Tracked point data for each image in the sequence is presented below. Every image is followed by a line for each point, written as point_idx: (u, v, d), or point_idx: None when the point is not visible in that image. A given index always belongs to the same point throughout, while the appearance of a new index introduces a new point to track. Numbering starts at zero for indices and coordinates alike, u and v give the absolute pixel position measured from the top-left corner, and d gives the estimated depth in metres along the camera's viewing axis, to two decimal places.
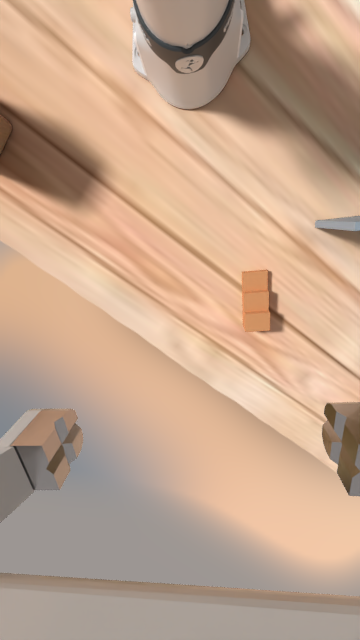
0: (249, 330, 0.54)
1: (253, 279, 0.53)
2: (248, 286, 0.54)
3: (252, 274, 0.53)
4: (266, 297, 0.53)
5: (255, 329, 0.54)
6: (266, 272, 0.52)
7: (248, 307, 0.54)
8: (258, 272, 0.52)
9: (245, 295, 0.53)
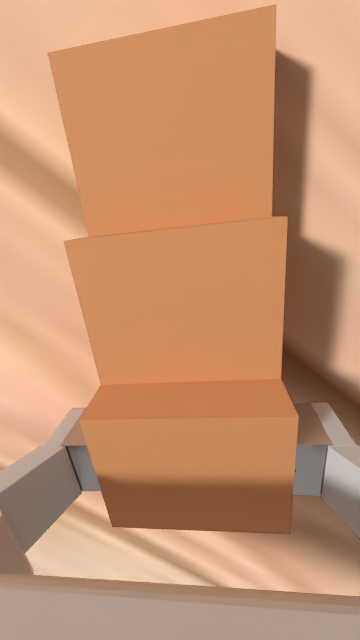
0: (138, 521, 0.07)
1: (150, 118, 0.06)
2: (122, 187, 0.07)
3: (137, 58, 0.06)
4: (264, 269, 0.06)
5: (180, 519, 0.07)
6: (263, 27, 0.05)
7: (124, 354, 0.07)
8: (187, 36, 0.06)
9: (85, 261, 0.06)
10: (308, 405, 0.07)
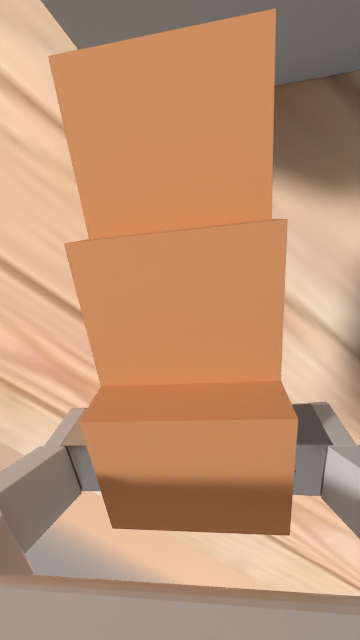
0: (138, 523, 0.07)
1: (151, 121, 0.06)
2: (123, 189, 0.07)
3: (137, 62, 0.06)
4: (263, 272, 0.06)
5: (180, 521, 0.07)
6: (262, 31, 0.05)
7: (125, 356, 0.07)
8: (187, 40, 0.06)
9: (85, 264, 0.06)
10: (308, 405, 0.07)
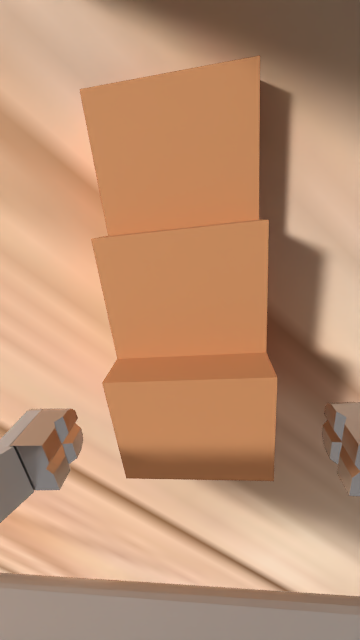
0: (148, 472, 0.09)
1: (161, 141, 0.08)
2: (137, 195, 0.08)
3: (150, 94, 0.07)
4: (250, 262, 0.07)
5: (183, 470, 0.09)
6: (249, 72, 0.07)
7: (138, 332, 0.08)
8: (190, 78, 0.07)
9: (108, 255, 0.08)
10: None
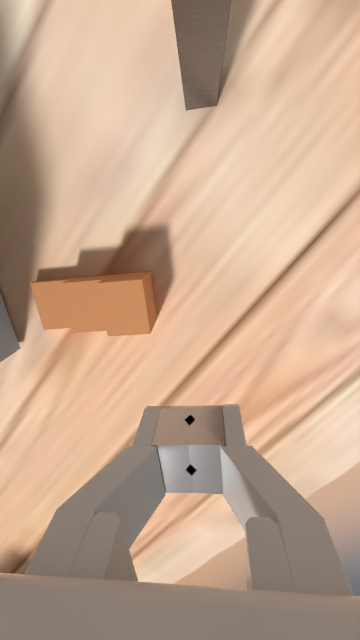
0: (146, 325, 0.23)
1: (52, 309, 0.26)
2: (67, 317, 0.26)
3: (42, 311, 0.26)
4: (73, 287, 0.24)
5: (142, 312, 0.23)
6: (33, 285, 0.26)
7: (101, 322, 0.25)
8: (37, 300, 0.26)
9: (77, 328, 0.25)
10: (219, 407, 0.08)
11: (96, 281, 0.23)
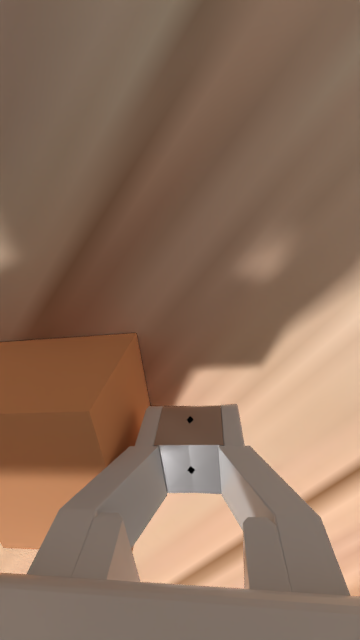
0: None
1: None
2: None
3: None
4: None
5: None
6: None
7: None
8: None
9: None
10: (218, 407, 0.08)
11: None
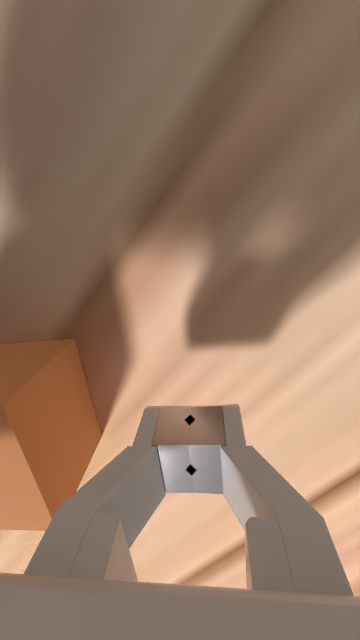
0: (41, 513, 0.08)
1: None
2: None
3: None
4: None
5: (24, 485, 0.08)
6: None
7: None
8: None
9: None
10: (219, 407, 0.08)
11: None
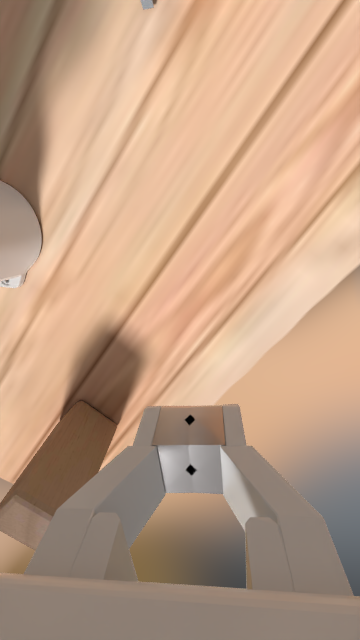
0: None
1: None
2: None
3: None
4: None
5: None
6: None
7: None
8: None
9: None
10: (219, 407, 0.08)
11: None
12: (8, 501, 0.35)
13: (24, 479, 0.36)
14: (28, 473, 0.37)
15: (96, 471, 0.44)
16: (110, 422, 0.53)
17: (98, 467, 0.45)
